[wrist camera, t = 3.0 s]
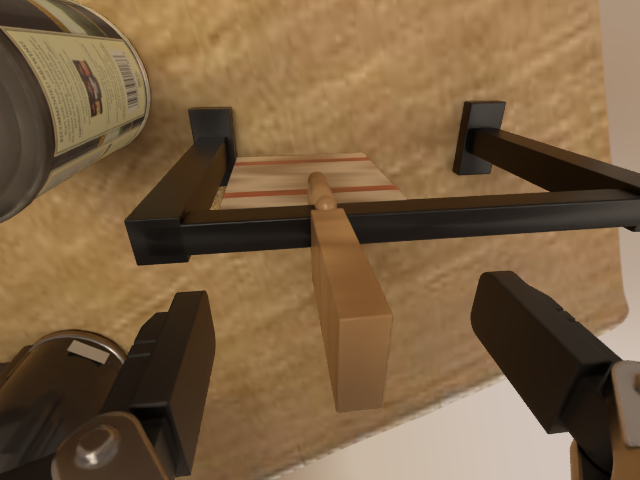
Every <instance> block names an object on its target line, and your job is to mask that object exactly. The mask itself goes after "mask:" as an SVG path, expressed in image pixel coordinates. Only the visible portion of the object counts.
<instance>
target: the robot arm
mask: <svg viewBox="0 0 640 480" xmlns="http://www.w3.org/2000/svg"><path fill="white" fill-rule="evenodd" d="M471 325H472V328H473V331H474V333H475V334H476V336H477V337H478V339H479V340H480V341H481V343H482V344H483V345H484V347H485V348H486V350H487V351H488V352H489V354H490V355H491V357H492V358H493V359H494V361H495V362H496V363H497V365H498V366H499V368H500V369H501V370H502V372H503V373H504V374H505V376H506V377H507V379H508V380H509V381H510V383H511V384H512V385H513V387H514V388H515V389H516V391H517V392H518V394H519V395H520V396H521V398H522V399H523V401H524V402H525V403H526V405H527V406H528V407H529V409H530V410H531V412H532V413H533V414H534V416H535V417H536V418H537V420H538V421H539V423H540V424H541V425H542V427H543V428H544V429H545V431H546V432H547V434H554V433H562V432H569V433H570V434H571V435H572V437H573V438H574V439H573V441H572V443H571V446H570V464H571V480H640V362H637V361H629V360H628V361H623V360H622V359H621V358H620V357H618V356H617V355H616V354H615V353H614V352H613V351H611V350H610V349H609V348H608V347H607V346H606V345H605V344H604V343H602V342H601V341H600V340H599V339H598V338H597V337H595V336H594V335H593V334H592V333H591V332H590V331H589V330H587V329H586V328H585V327H584V326H583V325H582V324H580V323H579V322H576V321H575V318H574V317H572V316H571V315H570V314H569V313H568V312H567V311H563V308H562V307H561V306H560V305H559V304H557V303H556V302H555V301H554V300H553V299H552V298H551V297H549V296H548V295H546V294H544V293H542V292H540V291H539V290H537V289H535V288H533V287H531V286H529V285H528V284H526V283H525V282H524V281H523V280H522V279H521V278H520V277H519V276H518V275H516V274H515V273H514V272H512V271H496V272H485V273H483V274H482V275H481V276H480V279H479V282H478V286H477V290H476V294H475V298H474V302H473V306H472V310H471ZM214 356H215V332H214V326H213V321H212V315H211V310H210V305H209V299H208V295H207V292H206V291H192V292H178V293H176V294H175V296H174V299H173V301H172V304H171V306H170V308H169V311H168V312H159V313H155V314H154V315H153V316H152V317H151V318H150V319H149V320H148V321H147V322H146V323H145V324H144V325H143V326H142V327H141V329H140V331H139V333H138V335H137V337H136V339H135V341H134V345H132V347H131V349H130V351H129V353H128V355H127V357H126V356H125V354H124V353H123V351H122V350H121V349H120V348H119V347H118V346H116V345H115V344H114V343H112V342H111V341H109V340H107V339H105V338H103V337H101V336H98V335H96V334H92V333H88V332H83V331H60V332H55V333H52V334H49V335H47V336H45V337H43V338H41V339H40V340H38V341H37V342H36V343H35V344H34V346H28V347H23V348H22V349H21V351H20V352H19V353H18V354H17V355H16V356H15V358H14V359H13V360H12V361H11V362H7V363H0V480H174V478H175V477H180V476H189V475H191V471H192V466H193V461H194V456H195V451H196V446H197V441H198V436H199V431H200V426H201V421H202V416H203V411H204V406H205V401H206V396H207V391H208V386H209V381H210V376H211V371H212V366H213V361H214Z"/></svg>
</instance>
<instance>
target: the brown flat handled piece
mask: <svg viewBox="0 0 640 480" xmlns="http://www.w3.org/2000/svg"><path fill="white" fill-rule="evenodd" d="M393 200H408V199H407V198H406V197H405V196H404V195H403V194H402V193H401V192H400V191H399V189H398V188H397V187H396V186H395V185H394V184H393V183H392V182H391V181H390V180H389V179H388V178H387V177H386V176H385V175H384V174H383V173H382V172H381V171H380V170H379V169H378V168H377V167H376V166H375V165H374V164H373V162H372V161H371V160H370V159H369V158H368V157H367V156H366V155H365V154H364V153H340V154H314V155H287V156H261V157H237V159H236V162H235V164H234V168H233V170H232V173H231V176H230V179H229V182H228V185H227V187H226V190H225V193H224V196H223V199H222V202H221V205H220V207H219V210H224V209H242V208H261V207H280V206H299V205H315V209H316V210H311V252H312V281H313V286H314V292H315V297H316V303H317V308H318V314H319V319H320V325H321V330H322V336H323V342H324V347H325V353H326V358H327V364H328V369H329V375H330V380H331V386H332V391H333V397H334V402H335V408H336V411H337V413H344V412H353V411H361V410H370V409H378V408H382V407H383V402H384V393H385V385H386V376H387V367H388V358H389V349H390V341H391V332H392V323H393V313H392V311H391V309H390V307H389V305H388V303H387V301H386V299H385V296H384V294H383V292H382V290H381V288H380V286H379V284H378V282H377V279H376V277H375V275H374V273H373V271H372V269H371V267H370V265H369V262H368V260H367V258H366V256H365V254H364V252H363V250H362V248H361V245H360V243H359V241H358V239H357V237H356V235H355V233H354V231H353V228H352V226H351V224H350V222H349V220H348V218H347V216H346V214H345V211H344V209H343V208H338V209H337V203H355V202H374V201H393Z"/></svg>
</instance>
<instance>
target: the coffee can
mask: <svg viewBox="0 0 640 480" xmlns="http://www.w3.org/2000/svg"><path fill="white" fill-rule="evenodd" d="M150 102H151V98H150V87H149V82H148V78H147V74H146V71H145V69H144V66H143V63H142V61H141V60H140V58H139V56H138V54H137V52H136V51H135V49H134V48H133V46H132V44H131V43H130V41H129V40H128V39H127V38H126V37H125V36H124V35H123V34H122V32H121V31H120V30H119V29H118V28H117V27H116V26H115V25H113V24H112V23H111V22H110V21H109V20H107V19H106V18H105V17H103V16H102V15H100V14H99V13H97V12H96V11H94V10H92V9H90V8H88V7H86V6H84V5H82V4H79V3H77V2H74V1H72V0H0V223H2V222H4V221H6V220H8V219H10V218H12V217H13V216H15V215H16V214H18V213H19V212H21V211H22V210H23V209H25V208H26V207H27V206H28V205H29V204H30V203H31V202H32V201H33V200H34V199H36V198H37V197H39V196H41V195H42V194H44V193H46V192H47V191H49V190H51V189H52V188H54V187H56V186H57V185H59V184H61V183H62V182H64V181H66V180H67V179H69V178H71V177H72V176H74V175H75V174H77V173H79V172H80V171H82V170H84V169H85V168H87V167H89V166H90V165H92V164H94V163H95V162H97V161H99V160H100V159H102V158H104V157H105V156H107V155H109V154H110V153H112V152H113V151H116V150H118V149H120V148H122V147H124V146H126V145H128V144H130V143H131V142H132V141H133V140H134V139H135V138H136V137H137V136H138V135H139V133H140V132H141V130H142V129H143V127H144V125H145V123H146V121H147V118H148V114H149V110H150Z"/></svg>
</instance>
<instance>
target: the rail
mask: <svg viewBox="0 0 640 480" xmlns="http://www.w3.org/2000/svg"><path fill="white" fill-rule="evenodd" d="M505 105H506V102H503V101H465V102H464V108H463V114H462V120H461V126H460V132H459V137H458V143H457V149H456V155H455V161H454V166H453V172H454V173H456V174H457V175H476V174H490V172H491V168H492V164H493V165H495V166H498V167H500V168H502V169H504V170H506V171H508V172H510V173H512V174H514V175H516V176H518V177H520V178H522V179H525V180H527V181H529V182H531V183H533V184H535V185H537V186H539V187H541V188H543V189H545V190H547V191H549V192H544V193H525V194H506V195H487V196H468V197H450V198H431V199H412V200H393V201H374V202H355V203H337V209H338V208H343V209H344V211H345V214H346V216H347V218H348V220H349V222H350V224H351V226H352V228H353V231H354V233H355V235H356V237H357V239H358V241H359V243H360V244H368V243H383V242H398V241H413V240H429V239H444V238H459V237H474V236H490V235H505V234H520V233H535V232H550V231H566V230H581V229H596V228H611V227H624V228H626V229H628V230H630V231H633V232H640V173H637V172H633V171H630V170H627V169H624V168H620V167H617V166H614V165H611V164H608V163H605V162H602V161H599V160H595V159H592V158H589V157H586V156H583V155H579V154H576V153H573V152H570V151H567V150H564V149H560V148H557V147H554V146H551V145H548V144H545V143H541V142H538V141H535V140H532V139H529V138H525V137H522V136H519V135H516V134H513V133H510V132H506V131H503V130H500V127H501V123H502V118H503V114H504V110H505ZM188 111H189V117H190V123H191V129H192V135H193V140H194V144H193V145H192V146H191V148H190V149H189V150H188V151H187V152H186V153H185V154H184V155H183V156H182V157H181V159H180V160H179V161H178V162H177V163H176V164H175V165H174V166H173V167H172V169H171V170H170V171H169V172H168V173H167V174H166V175H165V176H164V177H163V178H162V180H161V181H160V182H159V183H158V184H157V185H156V186H155V187H154V188H153V189H152V191H151V192H150V193H149V194H148V195H147V196H146V197H145V198H144V199H143V200H142V202H141V203H140V204H139V205H138V206H137V207H136V208H135V209H134V210H133V211H132V213H131V214H130V215H129V216H128V217H127V218H126V219H125V220H124V222H125V225H126V229H127V232H128V235H129V239H130V242H131V246H132V249H133V252H134V256H135V259H136V263H137V265H138V266H140V265H154V264H169V263H184V262H189V259H190V257H191V255H200V254H216V253H231V252H246V251H261V250H276V249H292V248H307V247H311V210H316V209H315V205H299V206H280V207H261V208H242V209H224V210H210V208H211V206H212V203H213V201H214V198H215V196H216V193H217V191H218V188H219V186H227V185H228V182H229V179H230V176H231V173H232V170H233V168H234V164H235V162H236V159H237V152H236V143H235V135H234V127H233V118H232V110H231V107H196V108H190V109H189V110H188Z"/></svg>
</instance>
